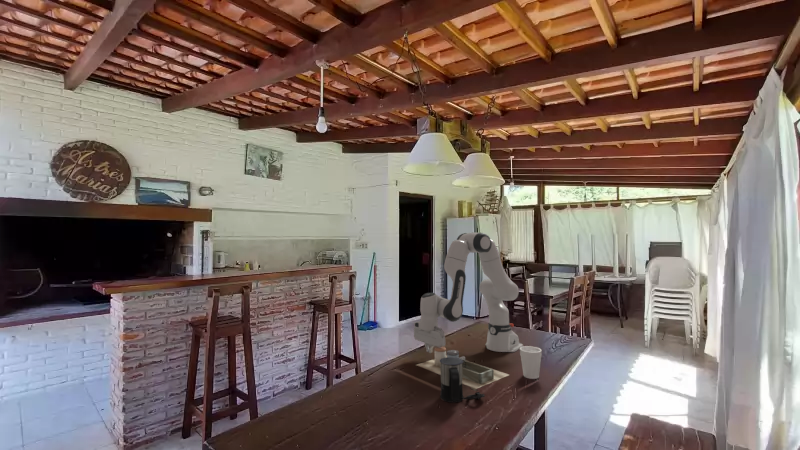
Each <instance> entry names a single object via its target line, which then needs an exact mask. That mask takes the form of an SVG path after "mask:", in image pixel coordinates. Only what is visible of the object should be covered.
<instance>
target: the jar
mask: <svg viewBox="0 0 800 450" xmlns="http://www.w3.org/2000/svg"><path fill="white" fill-rule="evenodd" d="M433 349H434V359H435V366H439V367H440V360H441V359H442V358H446V355H447V348H446V347H445V346H444V347H441V348H440V347H437V346H434V348H433Z"/></svg>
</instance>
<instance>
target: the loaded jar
mask: <svg viewBox="0 0 800 450" xmlns="http://www.w3.org/2000/svg"><path fill="white" fill-rule="evenodd" d="M459 354H460V352H459V350H455V349H449V350H446V355H447V357H448V358H449V357H453V358H459V356H460V355H459Z"/></svg>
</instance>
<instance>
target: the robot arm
mask: <svg viewBox="0 0 800 450" xmlns="http://www.w3.org/2000/svg"><path fill="white" fill-rule="evenodd" d="M446 253H447V254H446V256H445V260H444V265H443V269H444V271H445V273H446V274H447V275H448V276H449V277H450V278H451V282H452V287H451V294H450V299H448V298H444V297H441V296H439V295H438V294H436V293H435V292H426V293H424V294H423V295H422V296H421V298H420V306H419V307H420V308H419V310H420V314H421V315H420V320H419V321H415V322H413V326H414V329H413V337H414V340H415V341H419V342H421V343H424V347H425V348H426V349H425V350H426V352H427V353H429V354H431V353H434V352H433V349H434V348H435V347H440V348H441V347H445V346H446V336H445V331H444V329H443V328H441V327H438V325H439V323H438V320H439V319H438V318H439V317H440V318H443V319H446V320H447V321H449V322H453V323H455V322H458V321H459V320H460V319H461V317H462V316H463V313H464V304H463V301H464V296H465V295H464V294H465V287H466V279H467V276H466V265H467V260H468V256H469V254H470V253H472V254H473V253H478V257H479V261H480V265H481V267H482V272H483V273H484V275H485V276H486V277H487V278H488V279H487V278H486V279H483V280H481V282H480V283H479V291H480V294H481V295H482V296H483V298H484V299H485V301H486V302H485V303H486V305H487V309H488V327H487V328H488V330H487V334H486V335H487V336H486V337H487V338H486V343H485V346H486V349H487V350H490V351H493V352H497V353H498V352H499V353H501V352H502V353H515V352H516V351H518V350H520V347H524V344H523V343H521V342H520V340H519V336H518V334H516V332H514V331H513V330H512V328H514V325H515V324H514V323H510V312H509V309H508V307H507V306H506V305H505V304H504V302H505V301H506V302H508V301H514V300H516V299H517V298H518V297H519V293H520V289H519V287H518V285H517V284H516V283H515V282H514V281H512V280H511V279H510V277H509V275H508V274H507V273H506V271H505V268H504V266H503V264H502V259H501V257H500V254H499V250H498V247H497V245H496V243H495V242H494V240H493V239H491V238H490V236H489V235H488V234H487V233H484V232H476V231H475V232H468V233H467V232H465V233H460V234H459V235H458V236H457V238H456V239H454V240H453V241H451V243H450V245H449V247H448V250H447V252H446Z"/></svg>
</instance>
